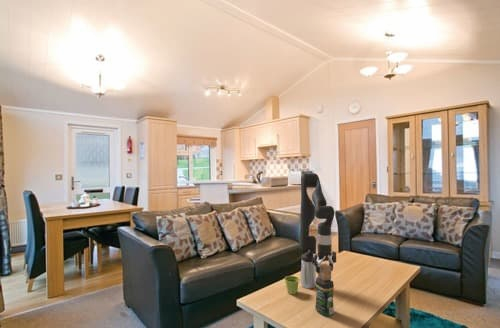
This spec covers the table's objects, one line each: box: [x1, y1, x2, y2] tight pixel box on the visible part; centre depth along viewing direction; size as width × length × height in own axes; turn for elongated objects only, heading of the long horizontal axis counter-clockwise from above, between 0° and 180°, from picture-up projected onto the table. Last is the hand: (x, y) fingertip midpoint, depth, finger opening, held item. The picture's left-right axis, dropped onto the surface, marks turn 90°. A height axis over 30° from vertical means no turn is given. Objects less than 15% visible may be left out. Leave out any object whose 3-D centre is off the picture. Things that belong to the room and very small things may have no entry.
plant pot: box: [284, 275, 301, 295], centre depth 171 cm, size 9×9×9 cm
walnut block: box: [317, 263, 332, 281], centre depth 149 cm, size 5×5×7 cm
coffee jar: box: [315, 276, 335, 317], centre depth 149 cm, size 10×8×19 cm
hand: (324, 271), depth 149 cm, fingers open, 8 cm apart
